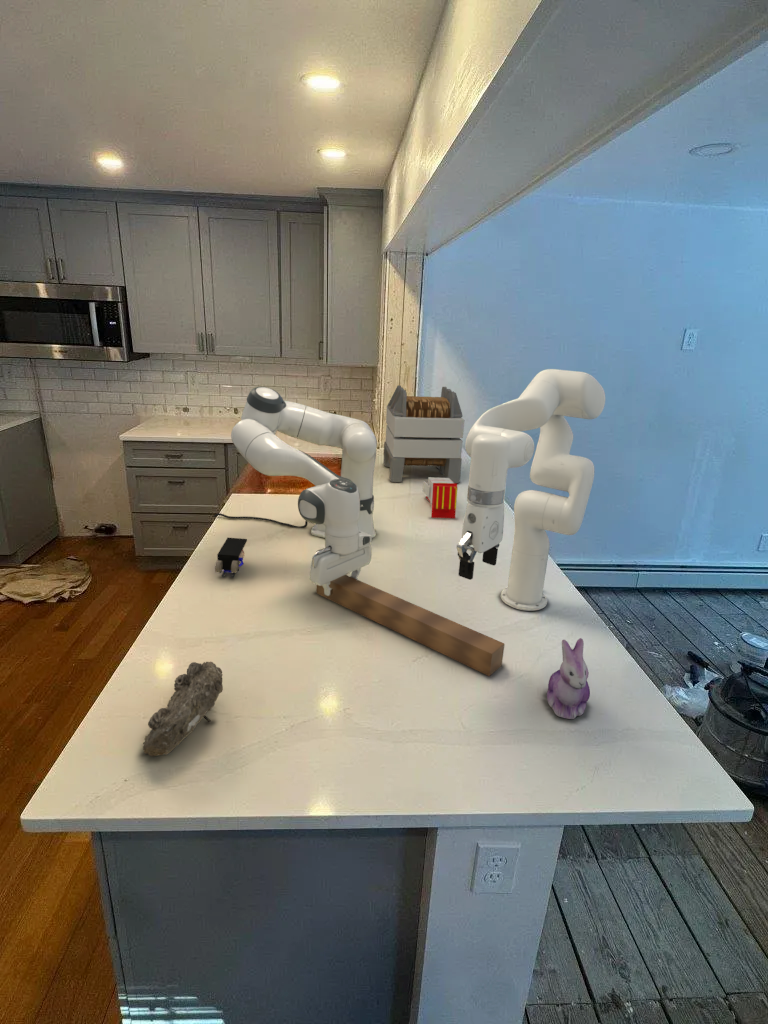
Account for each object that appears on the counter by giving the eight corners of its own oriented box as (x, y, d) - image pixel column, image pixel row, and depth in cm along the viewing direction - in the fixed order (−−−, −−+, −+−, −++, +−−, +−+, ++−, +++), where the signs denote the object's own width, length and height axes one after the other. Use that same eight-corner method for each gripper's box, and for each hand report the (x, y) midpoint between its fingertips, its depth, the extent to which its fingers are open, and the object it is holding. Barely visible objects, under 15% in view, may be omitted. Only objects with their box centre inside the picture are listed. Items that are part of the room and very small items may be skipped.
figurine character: (238, 584, 162) (249, 557, 175) (236, 562, 158) (247, 536, 172) (215, 584, 161) (227, 556, 175) (212, 561, 158) (225, 535, 171)
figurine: (568, 727, 109) (581, 661, 104) (532, 696, 118) (542, 634, 113) (603, 714, 113) (617, 650, 108) (566, 685, 122) (577, 624, 117)
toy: (450, 473, 241) (461, 484, 212) (448, 504, 244) (459, 519, 214) (421, 472, 240) (429, 483, 211) (420, 503, 243) (427, 518, 214)
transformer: (382, 463, 289) (386, 382, 275) (445, 464, 293) (451, 384, 279) (390, 482, 257) (394, 392, 243) (460, 483, 261) (468, 394, 247)
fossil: (172, 663, 116) (224, 630, 111) (205, 693, 119) (256, 663, 114) (117, 750, 97) (177, 715, 92) (158, 783, 100) (218, 752, 95)
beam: (316, 593, 156) (316, 574, 154) (330, 586, 160) (330, 568, 158) (489, 676, 124) (492, 653, 122) (501, 665, 128) (504, 643, 126)
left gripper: (321, 556, 139) (321, 606, 143) (376, 534, 154) (374, 580, 158) (304, 548, 142) (304, 597, 147) (359, 528, 157) (357, 573, 162)
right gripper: (479, 509, 108) (471, 589, 114) (521, 490, 121) (512, 563, 127) (447, 500, 113) (440, 577, 118) (490, 482, 125) (483, 553, 131)
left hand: (340, 588), depth 153 cm, fingers open, 8 cm apart
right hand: (477, 570), depth 123 cm, fingers open, 9 cm apart
